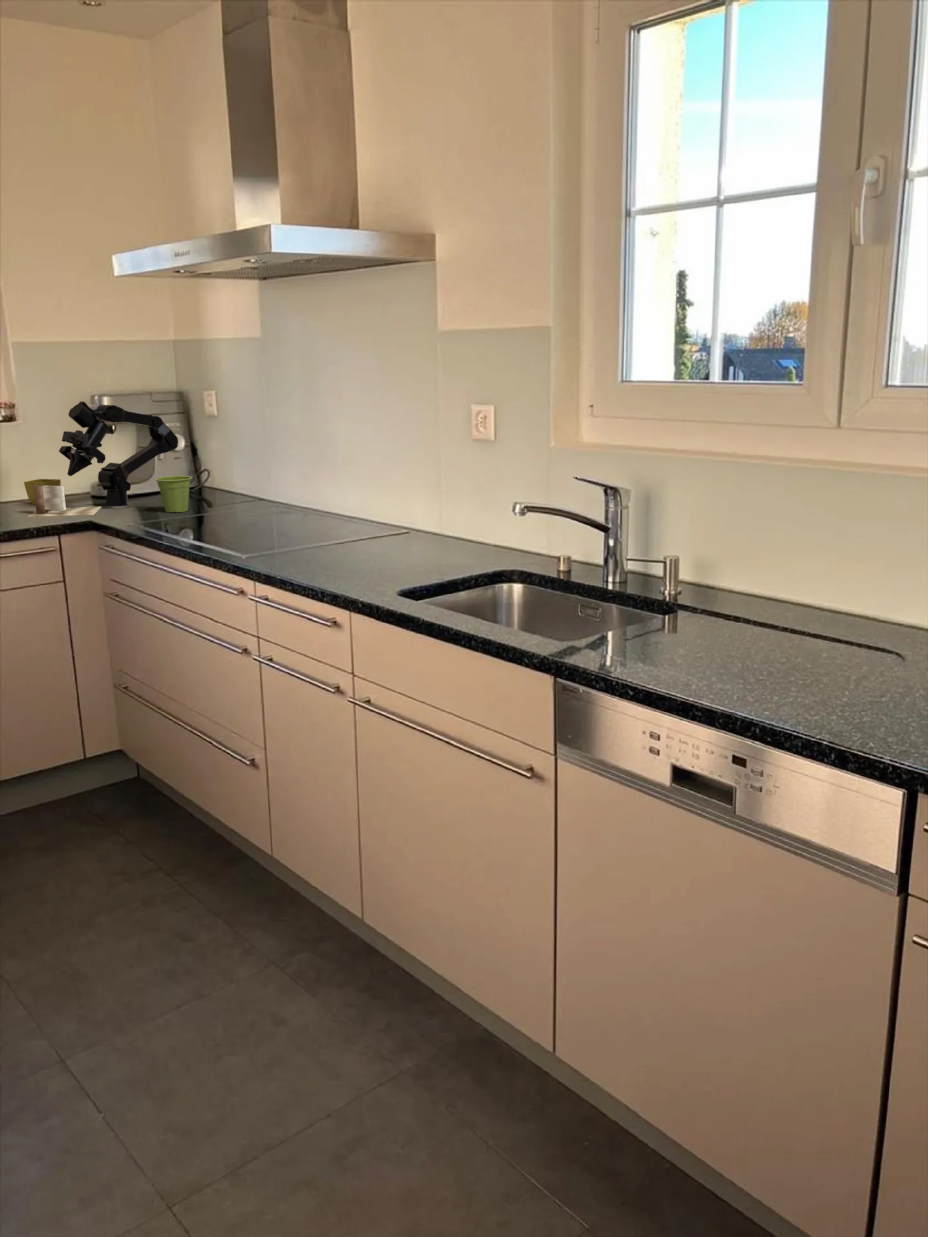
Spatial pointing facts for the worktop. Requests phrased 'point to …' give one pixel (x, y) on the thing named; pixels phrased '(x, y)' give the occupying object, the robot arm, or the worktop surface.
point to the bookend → (49, 498)
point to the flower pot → (45, 482)
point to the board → (69, 512)
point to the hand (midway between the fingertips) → (69, 475)
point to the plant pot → (175, 492)
